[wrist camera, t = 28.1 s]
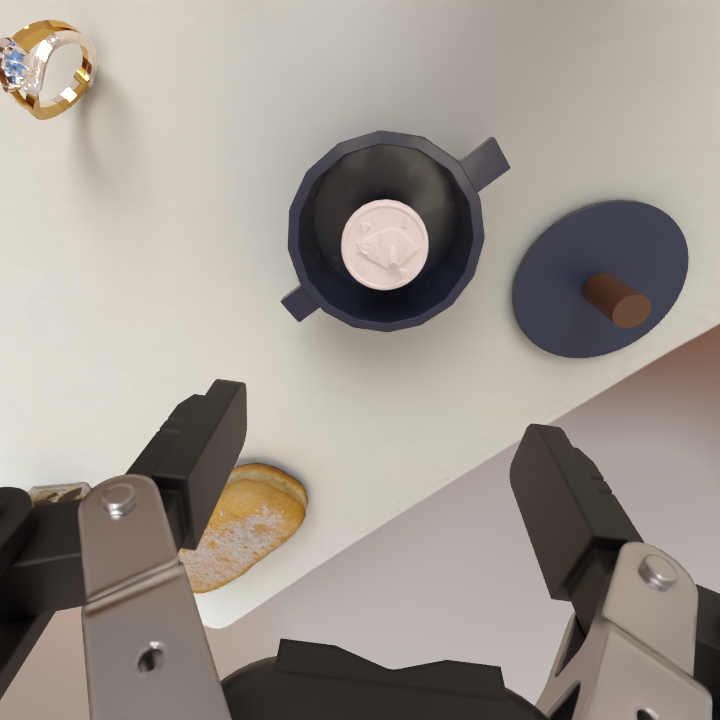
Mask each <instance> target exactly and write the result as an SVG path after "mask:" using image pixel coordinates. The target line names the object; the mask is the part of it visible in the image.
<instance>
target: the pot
mask: <svg viewBox="0 0 720 720" xmlns="http://www.w3.org/2000/svg"><path fill="white" fill-rule="evenodd" d="M509 169H510V166H509V164H508V162H507V160H506V158H505V156H504V155H503V153H502V151H501V149H500V147H499V145H498V143H497V141H496V140H495V138H494V137H490V138H489V139H487V140H486V141H485V142H483V143H482V144H481V145H480V146H478V147H477V148H476V149H474V150H473V151H472V152H471V153H469V154H468V155H467V156H465V157H464V158H463V159H461V160H460V161H459V162H458V160H456V159H455V158H453V157H452V156H450V155H449V154H448V153H446V152H445V151H443V150H442V149H440V148H439V147H437V146H436V145H434V144H433V143H432V142H430V141H429V140H427V139H426V138H424V137H421V136H415V135H408V134H401V133H395V132H388V131H382V130H381V131H376V132H373V133H370V134H367V135H363V136H360V137H357V138H354V139H350V140H347V141H344V142H341V143H339V144H337V145H336V146H335V147H334V148H333V149H331V150H330V151H329V152H328V153H327V154H326V155H325V156H324V157H322V158H321V159H320V160H319V161H318V162H317V163H316V164H315V165H314V166H312V167H311V168H310V169H309V170H308V171H307V172H306V174H305V176H304V178H303V181H302V183H301V185H300V187H299V189H298V192H297V194H296V196H295V198H294V200H293V202H292V205H291V207H290V210H289V230H288V251H289V253H290V256H291V259H292V262H293V265H294V268H295V270H296V273H297V276H298V279H299V282H300V285H299V286H297V287H296V288H295V289H294V290H292V291H291V292H290V293H288V294H287V295H286V296H284V297H283V299H282V300H281V303H282V304H283V305H284V306H285V308H286V309H287V310H288V311H289V312H290V313H291V314H292V315H293V316H294V318H295V319H296V320H297V321H298V322H300V321H302V320H303V319H305V318H306V317H307V316H309V315H310V314H311V313H313V312H314V311H316V310H317V309H318V308H320V307H321V309H322V310H324V312H326V313H328V314H330V315H332V316H333V317H335V318H337V319H339V320H341V321H343V322H344V323H346V324H348V325H350V326H352V327H354V328H361V329H369V330H376V331H383V332H391V331H396V330H400V329H405V328H410V327H414V326H419V325H421V324H423V323H425V322H426V321H428V320H430V319H431V318H433V317H434V316H436V315H437V314H439V313H440V312H442V311H444V310H445V309H447V308H448V307H450V306H451V305H452V304H453V303H454V302H455V300H456V299H457V298H458V296H459V295H460V294H461V292H462V291H463V290H464V288H465V287H466V286H467V284H468V283H469V282H470V280H471V279H472V278H473V276H474V274H475V271H476V267H477V263H478V260H479V256H480V253H481V249H482V246H483V242H484V228H483V220H482V211H481V202H480V198H479V195H478V193H477V192H479V191H480V190H481V189H483V188H484V187H485V186H487V185H488V184H489V183H491V182H492V181H494V180H495V179H496V178H498V177H499V176H500V175H502V174H503V173H505V172H506V171H507V170H509ZM385 199H388V200H393V201H399V202H401V203H403V204H405V205H407V206H409V207H410V208H411V209H413V210H414V211H415V212H416V213H417V214H418V215H419V217H420V218H421V220H422V221H423V223H424V225H425V228H426V231H427V235H428V255H427V259H426V261H425V264H424V266H423V268H422V269H421V271H420V272H419V273H418V275H417V276H416V277H415V278H414V279H413V280H411V281H410V282H409V283H407V284H405V285H403V286H401V287H399V288H396V289H391V290H378V289H373V288H370V287H367V286H365V285H363V284H361V283H360V282H359V281H357V280H356V279H355V278H354V277H353V276H352V275H351V274H350V272H349V271H348V269H347V268H346V266H345V263H344V261H343V257H342V251H341V242H342V234H343V231H344V228H345V226H346V223H347V221H348V220H349V219H350V217H351V216H352V215H353V213H354V212H356V211H357V210H358V209H359V208H361V207H362V206H363V205H365V204H368V203H370V202H373V201H377V200H385Z"/></svg>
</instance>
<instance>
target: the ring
mask: <svg viewBox="0 0 720 720" xmlns="http://www.w3.org/2000/svg"><path fill="white" fill-rule="evenodd" d="M42 40H44V41H43V42H42V43H41V45H40V46H39V48H38V51H37V54H36V57H35V61H34V67H33V70H32V67H31V62H30V58H32V55H33V54H32V53H30V52H29V51H30V50H31V49H32V48H33V47H34V46H35V45H36V44H37V43H39V42H41V41H42ZM67 44H78V45H80V47H81V49H82V53H83V62H82V66H81V69H80V70H78V71H77V72H76V73H75V75H74V78H75V80H74V82H73V83H72V84H71V85H70V86H69V88H68V89H67V90H65V91H64V92H63V93H62V94H60V95H59V96H57V97H56V98H54V99H51V100H49V101H45V102H39V92H40V90H41V89H42V86H43V80H44V75H45V70H46V66H47V63H48V60H49V58H50V56H51V54H52V53H53V52H54V51H55V50H56V49H57V48H59V47H61V46H63V45H67ZM12 50H13V51H12ZM11 51H12V52H11ZM10 52H11V54H10ZM97 66H98V58H97V53H96V51H95V49H94V47H93V46H92V44H91V43H90V42H89V41H88V40H87V39H86V38H85V37H84V36H83V35H82V34H81V33H80V32H79V31H78V30H77V29H76V28H74V27H73V26H71V25H69V24H67V23H64V22H61V21H55V20H45V21H39V22H36V23H33V24H30V25H28V26H26V27H25V28H23V29H21V30H20V31H19V32H17V33H16V34H15V35H14V36H13V37H12V38H2V39H0V81H1V83H2V86H3V89H4V90H5V91H6V92H7V94H8V95H9V96H10V97H11V98H12V99H13V100H14V101H15V102H17V103H18V104H19V105H20V106H21V107H23V108H24V109H26V110H28V111H29V112H30V113H31V114H32V115H33V116H34V117H36V118H37V119H39V120H46V119H50V118H53V117H55V116H57V115H59V114H61V113H63V112H64V111H66V110H67V109H69V108H70V107H71V106H72V105H74V104H75V103H76V102H77V101H78V100H79V99H80V98H81V97H82V95H83V94H84V93H85V92H86V90H87V89H88V88H91V87H92V85H93V84H94V80H93V79H94V77H95V74H96V71H97ZM21 87H24V91H25V92H26V93H27V96H26V99H25V98H24V97H22V96H21V95H20V93H19V91H18V90H20V89H21Z"/></svg>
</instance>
